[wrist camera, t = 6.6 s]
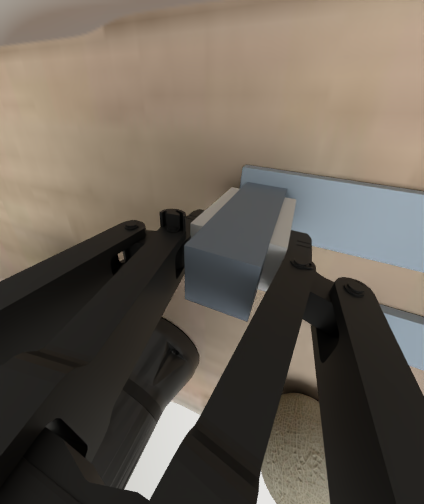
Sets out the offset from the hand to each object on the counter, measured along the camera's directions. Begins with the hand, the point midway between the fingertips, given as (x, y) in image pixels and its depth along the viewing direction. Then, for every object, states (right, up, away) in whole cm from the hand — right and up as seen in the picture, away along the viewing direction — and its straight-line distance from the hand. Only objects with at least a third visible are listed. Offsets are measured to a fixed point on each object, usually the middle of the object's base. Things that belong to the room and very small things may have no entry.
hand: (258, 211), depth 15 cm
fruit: (+10, -25, +15) cm, 30 cm away
